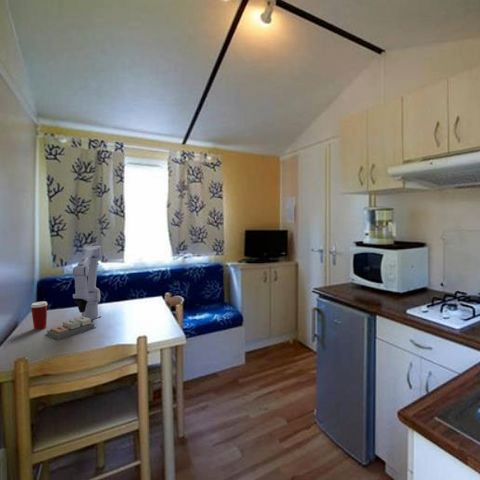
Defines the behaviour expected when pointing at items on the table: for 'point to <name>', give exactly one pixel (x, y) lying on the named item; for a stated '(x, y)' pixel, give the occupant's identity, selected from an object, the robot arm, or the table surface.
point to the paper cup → (39, 315)
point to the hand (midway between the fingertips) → (82, 312)
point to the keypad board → (70, 331)
